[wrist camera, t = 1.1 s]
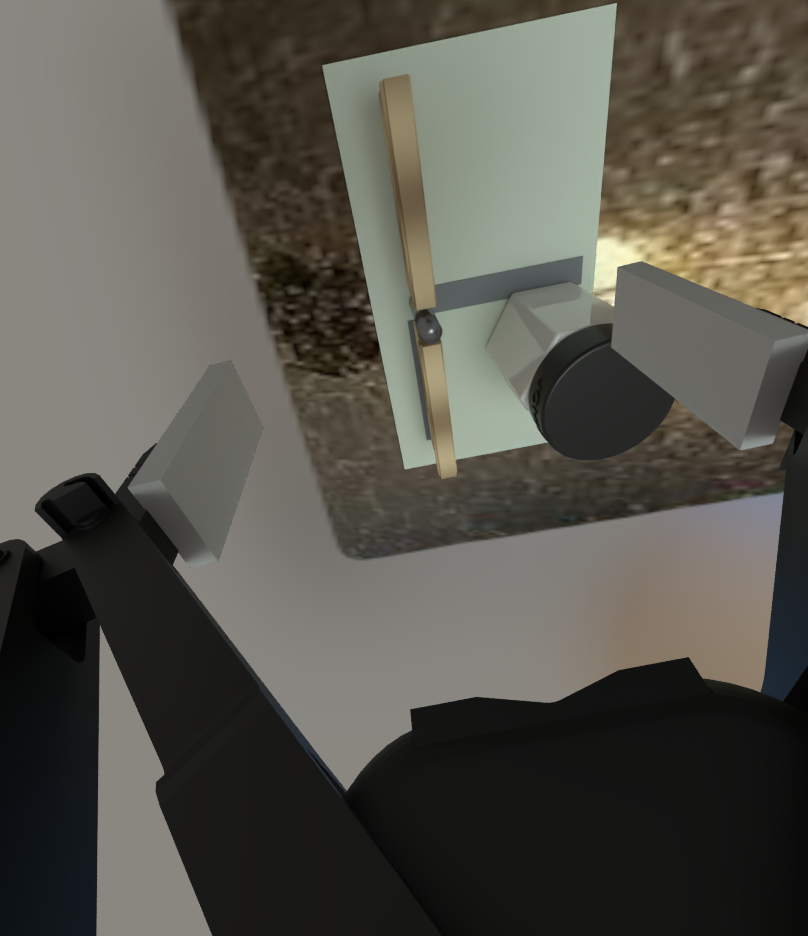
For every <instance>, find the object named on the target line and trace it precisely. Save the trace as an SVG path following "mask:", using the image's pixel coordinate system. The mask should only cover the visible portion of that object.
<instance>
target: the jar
mask: <svg viewBox="0 0 808 936" xmlns="http://www.w3.org/2000/svg"><path fill="white" fill-rule="evenodd" d="M613 318H614V307H613V306H612V305H610V304H608V303H607V302H605V301H603V300H602V299H600V298H598V297H596V296H595V295H593V294H591V293H590V292H588V291H586V290H584V289H583V288H581V287H579V286H578V285H576V284H574V283H572V282H565V283H560V284H555V285H550V286H545V287H540V288H535V289H530V290H526V291H521V292H516V293H513V294H512V295H511V296H510V298H509V301H508V303H507V305H506V307H505V309H504V311H503V313H502V315H501V317H500V319H499V321H498V323H497V326H496V328H495V330H494V332H493V334H492V336H491V338H490V340H489V342H488V344H487V346H486V350H487V351H488V353H489V354H490V356H491V357H492V359H493V360H494V362H495V363H496V365H497V366H498V368H499V369H500V371H501V372H502V374H503V375H504V377H505V380H506V382H507V383H508V385H509V387H510V388H511V390H512V391H513V393H514V394H515V395H516V397H517V398H518V400H519V401H520V402H521V404H522V405H523V406H524V408H525V409H526V410H527V411H529V412H530V414H531V416H532V418H533V420H534V422H535V424H536V427H537V429H538V430H539V432H540V433H541V435H542V436H543V437H544V439H545V440H546V441H548V443H549V444H550V445H551V446H552V447H553V448H554V449H555V450H556V451H558V452H559V453H561V454H563V455H565V456H567V457H570V458H573V459H578V460H600V459H605V458H609V457H612V456H615V455H618V454H621V453H623V452H625V451H627V450H629V449H631V448H633V447H634V446H636V445H637V444H639V443H640V442H642V441H643V440H644V439H646V438H647V437H648V436H649V435H650V434H651V433H652V432H653V431H654V430H655V429H656V428H657V427H658V426H659V425H660V424H661V422H662V421H663V420H664V418H665V417H666V415H667V414H668V412H669V410H670V408H671V406H672V404H673V402H674V399H675V398H674V397H673V396H671V395H670V394H669V393H668V392H666V391H665V390H664V389H663V388H661V387H660V386H659V385H658V384H656V383H655V382H654V381H653V380H651V379H650V378H649V377H648V376H646V375H645V374H644V373H643V372H641V371H640V370H639V369H638V368H636V367H635V366H634V365H633V364H631V363H630V362H629V361H628V360H626V359H625V358H624V357H623V356H621V355H620V354H619V353H618V352H616V351H615V350H614V349H613V348H611V342H612V330H613Z"/></svg>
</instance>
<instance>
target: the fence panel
mask: <svg viewBox="0 0 808 936" xmlns="http://www.w3.org/2000/svg"><path fill="white" fill-rule="evenodd" d="M379 86H380V91H379V94H378V96H379V102H380V109H381V116H382V122H383V129H384V135H385V142H386V148H387V155H388V161H389V168H390V174H391V181H392V187H393V194H394V200H395V207H396V213H397V220H398V226H399V233H400V239H401V246H402V252H403V259H404V266H405V272H406V279H407V285H408V290H409V292H410V295H411V299H412V305H413V308H414V309H417V311H418V310H423V309H428V308H433V307H436V304H437V299H436V290H435V282H434V274H433V265H432V257H431V248H430V240H429V231H428V223H427V215H426V206H425V198H424V189H423V181H422V172H421V164H420V155H419V147H418V139H417V130H416V122H415V113H414V105H413V96H412V88H411V80H410V75H408V74H405V75H400V76H395V77H391V78H386V79H383V81H380V82H379Z"/></svg>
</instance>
